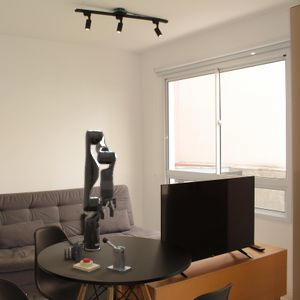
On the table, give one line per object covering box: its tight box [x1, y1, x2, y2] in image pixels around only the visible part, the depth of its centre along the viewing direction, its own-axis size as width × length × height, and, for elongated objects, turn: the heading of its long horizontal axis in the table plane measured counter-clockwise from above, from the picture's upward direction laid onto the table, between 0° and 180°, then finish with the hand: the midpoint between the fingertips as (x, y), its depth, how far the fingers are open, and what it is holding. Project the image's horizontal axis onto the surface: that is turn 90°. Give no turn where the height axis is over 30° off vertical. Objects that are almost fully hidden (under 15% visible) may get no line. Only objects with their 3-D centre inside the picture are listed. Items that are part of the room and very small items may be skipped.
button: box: [82, 257, 91, 263], centre depth 204 cm, size 4×4×2 cm
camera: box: [63, 240, 84, 262], centre depth 222 cm, size 14×11×10 cm
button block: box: [72, 259, 101, 273], centre depth 204 cm, size 11×9×4 cm
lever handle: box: [101, 236, 123, 254], centre depth 206 cm, size 13×3×3 cm, turn 50°
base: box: [106, 245, 132, 273], centre depth 203 cm, size 10×8×12 cm
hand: (107, 218), depth 209 cm, fingers open, 8 cm apart
